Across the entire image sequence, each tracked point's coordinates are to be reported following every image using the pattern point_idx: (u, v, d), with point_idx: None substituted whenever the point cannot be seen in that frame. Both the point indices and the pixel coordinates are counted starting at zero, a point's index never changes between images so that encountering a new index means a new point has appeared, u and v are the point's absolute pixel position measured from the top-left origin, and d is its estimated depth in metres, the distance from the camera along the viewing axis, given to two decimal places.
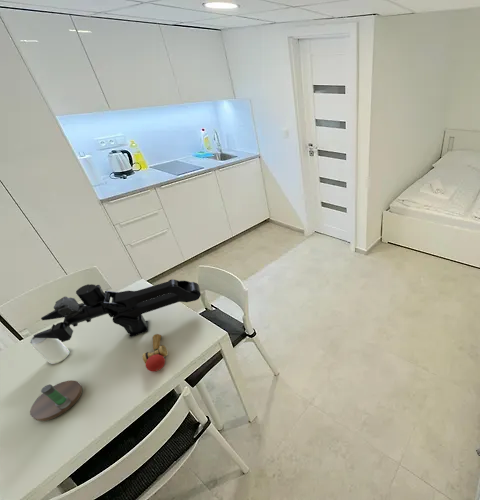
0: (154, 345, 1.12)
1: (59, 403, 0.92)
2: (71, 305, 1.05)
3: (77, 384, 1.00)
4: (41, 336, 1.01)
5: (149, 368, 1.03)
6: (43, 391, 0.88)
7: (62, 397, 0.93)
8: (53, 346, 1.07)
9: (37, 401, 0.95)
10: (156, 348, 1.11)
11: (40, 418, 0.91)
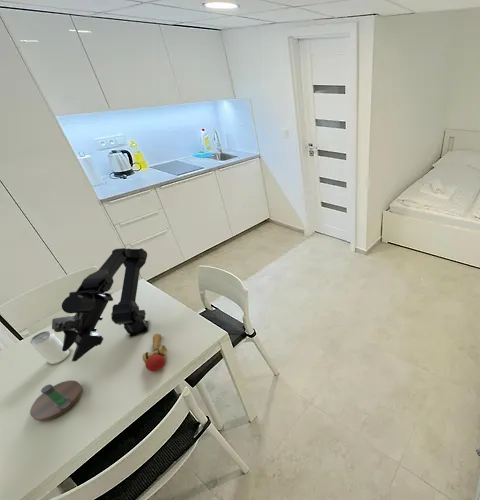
0: (154, 345, 1.12)
1: (59, 403, 0.92)
2: (68, 319, 0.95)
3: (77, 384, 1.00)
4: (78, 356, 0.95)
5: (149, 368, 1.03)
6: (43, 391, 0.88)
7: (62, 397, 0.93)
8: (53, 346, 1.07)
9: (37, 401, 0.95)
10: (156, 348, 1.11)
11: (40, 418, 0.91)
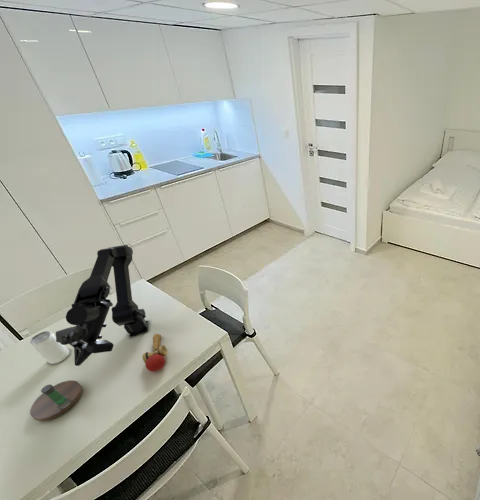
0: (154, 345, 1.12)
1: (59, 403, 0.92)
2: (72, 330, 0.92)
3: (77, 384, 1.00)
4: (81, 360, 0.96)
5: (149, 368, 1.03)
6: (43, 391, 0.88)
7: (62, 397, 0.93)
8: (53, 346, 1.07)
9: (37, 401, 0.95)
10: (156, 348, 1.11)
11: (40, 418, 0.91)
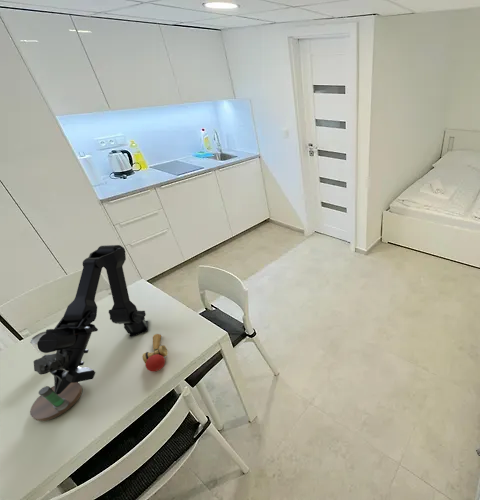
0: (154, 345, 1.12)
1: (56, 405, 0.92)
2: (52, 359, 0.89)
3: (78, 385, 1.00)
4: (62, 388, 0.93)
5: (149, 368, 1.03)
6: (40, 393, 0.88)
7: (60, 399, 0.92)
8: None
9: (39, 399, 0.96)
10: (156, 348, 1.11)
11: (38, 418, 0.91)
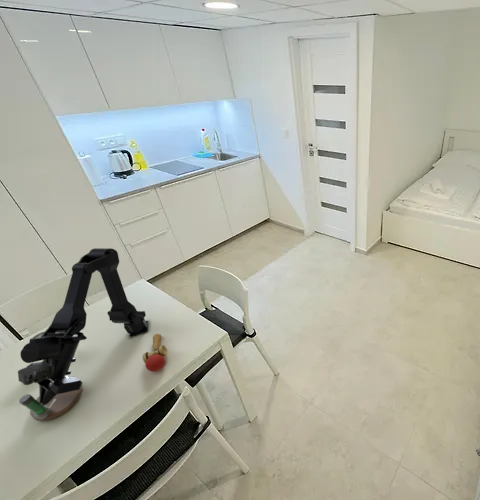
0: (154, 345, 1.12)
1: (35, 413, 0.90)
2: (37, 368, 0.86)
3: (72, 399, 0.96)
4: (49, 399, 0.90)
5: (149, 368, 1.03)
6: (20, 399, 0.86)
7: (38, 410, 0.89)
8: None
9: None
10: (156, 348, 1.11)
11: None
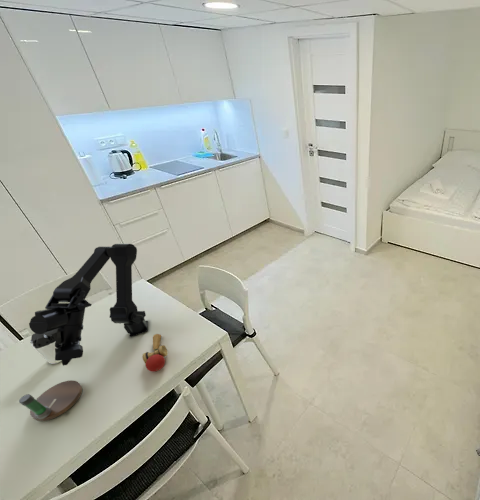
0: (154, 345, 1.12)
1: (35, 413, 0.90)
2: (46, 334, 0.90)
3: (72, 399, 0.96)
4: (66, 360, 0.96)
5: (149, 368, 1.03)
6: (20, 399, 0.86)
7: (38, 410, 0.89)
8: (53, 346, 1.07)
9: (56, 386, 1.00)
10: (156, 348, 1.11)
11: None
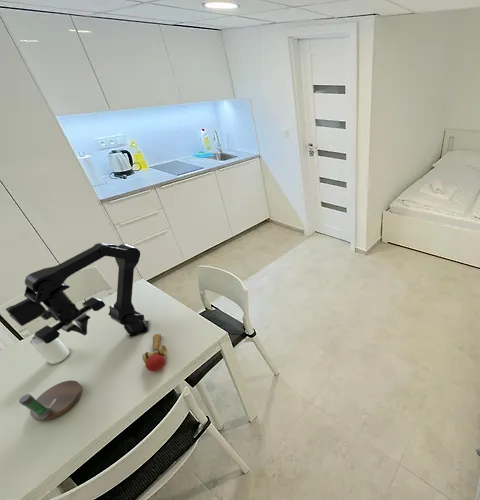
0: (154, 345, 1.12)
1: (35, 413, 0.90)
2: None
3: (72, 399, 0.96)
4: (80, 332, 1.03)
5: (149, 368, 1.03)
6: (20, 399, 0.86)
7: (38, 410, 0.89)
8: (53, 346, 1.07)
9: (56, 386, 1.00)
10: (156, 348, 1.11)
11: None
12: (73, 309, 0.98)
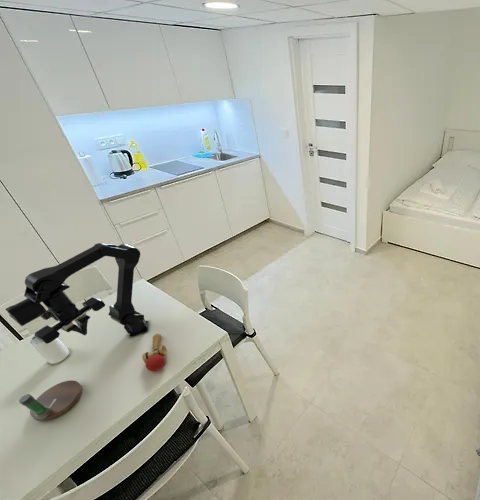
0: (154, 345, 1.12)
1: (35, 413, 0.90)
2: None
3: (72, 399, 0.96)
4: (80, 332, 1.03)
5: (149, 368, 1.03)
6: (20, 399, 0.86)
7: (38, 410, 0.89)
8: (53, 346, 1.07)
9: (56, 386, 1.00)
10: (156, 348, 1.11)
11: None
12: (73, 309, 0.98)
